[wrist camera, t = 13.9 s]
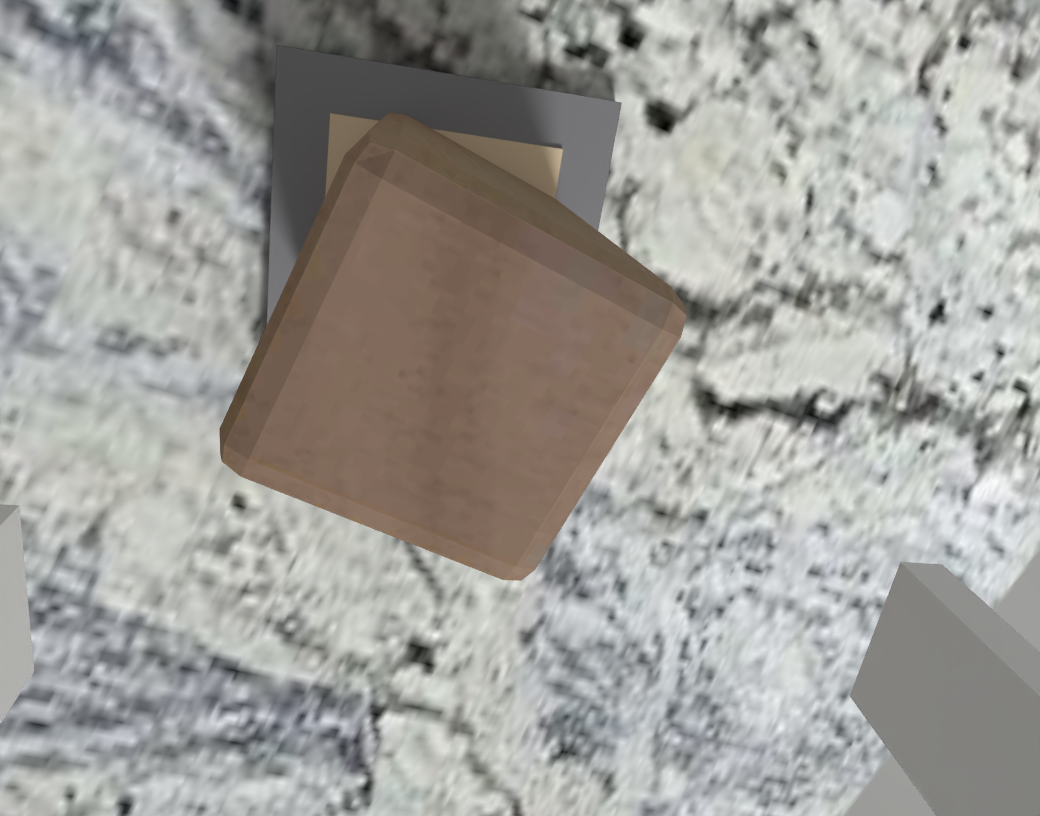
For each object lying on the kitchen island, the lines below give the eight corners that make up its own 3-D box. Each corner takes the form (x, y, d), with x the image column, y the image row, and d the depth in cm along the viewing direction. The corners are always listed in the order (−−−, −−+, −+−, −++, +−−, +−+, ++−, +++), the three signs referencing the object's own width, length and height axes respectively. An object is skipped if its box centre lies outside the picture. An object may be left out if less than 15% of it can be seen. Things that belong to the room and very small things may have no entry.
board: (268, 373, 41) (264, 382, 40) (280, 46, 36) (276, 44, 34) (561, 401, 44) (565, 411, 43) (615, 102, 39) (622, 102, 37)
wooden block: (298, 292, 39) (196, 475, 20) (386, 102, 36) (360, 116, 18) (476, 376, 42) (528, 604, 23) (570, 207, 39) (713, 313, 20)
